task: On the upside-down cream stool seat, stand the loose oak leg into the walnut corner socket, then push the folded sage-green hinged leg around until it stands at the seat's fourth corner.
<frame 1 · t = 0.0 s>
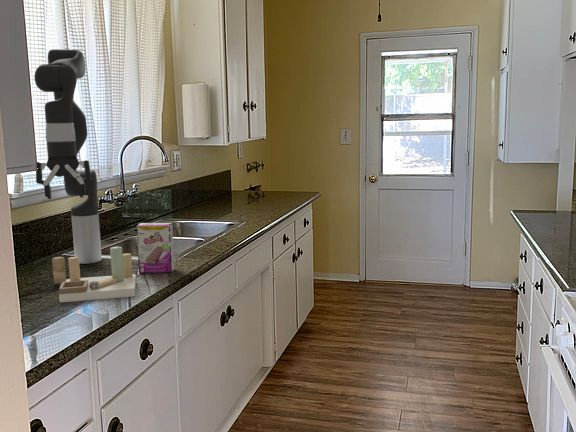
hand: (65, 198, 163), 29 cm above the worktop, fingers open, 8 cm apart
hinged leg: (106, 267, 172), point 8 cm above the worktop, hinge at 45.0°
candy bar box: (157, 272, 195), on the worktop
stool seat: (100, 291, 174), on the worktop
loose leg: (60, 282, 183), on the worktop
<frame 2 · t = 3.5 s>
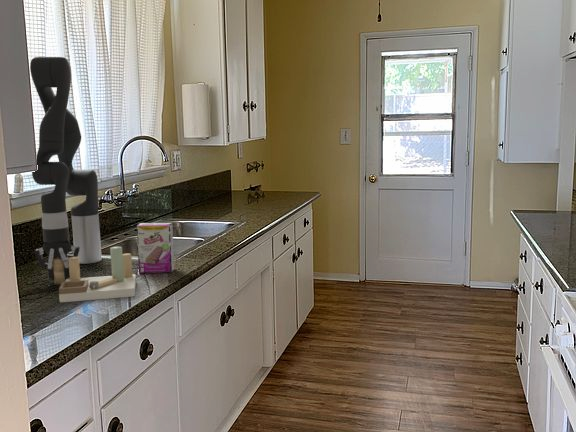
hand: (59, 279, 183), 1 cm above the worktop, fingers closed on loose leg, 3 cm apart
loose leg: (60, 282, 183), on the worktop, touching gripper
everything else where it was.
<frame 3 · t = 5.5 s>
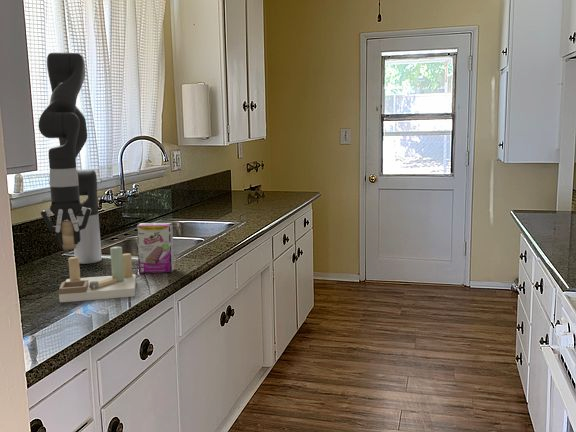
hand: (69, 244, 165), 16 cm above the worktop, fingers closed on loose leg, 3 cm apart
loose leg: (69, 248, 166), point 15 cm above the worktop, touching gripper
everything else where it was.
when the fingers open (4 cm above the worktop, at t = 8.0 s): loose leg stays where it is, resting on stool seat.
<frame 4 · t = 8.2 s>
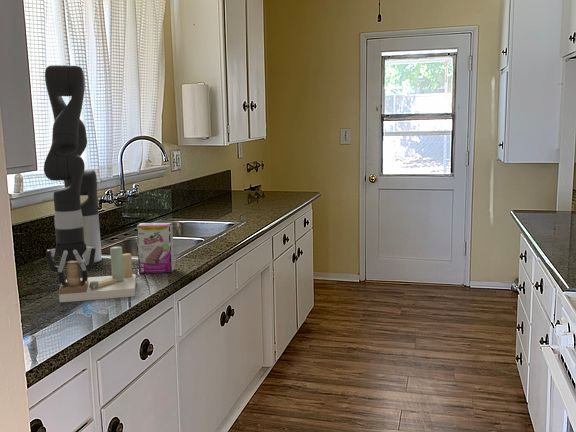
hand: (73, 283, 167), 4 cm above the worktop, fingers open, 5 cm apart
loose leg: (74, 289, 168), point 2 cm above the worktop, touching stool seat
everything else where it was.
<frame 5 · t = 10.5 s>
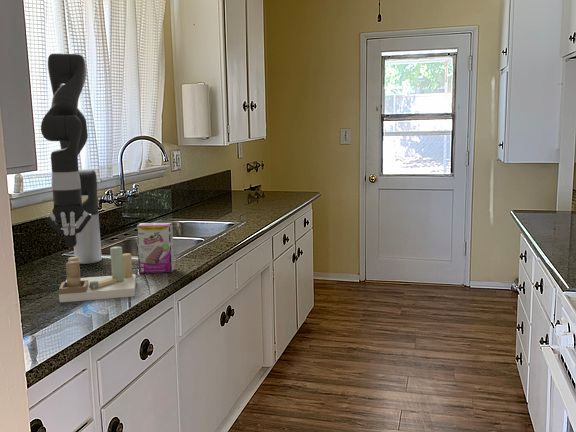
hand: (71, 247, 166), 15 cm above the worktop, fingers closed
nothing on the worktop moved.
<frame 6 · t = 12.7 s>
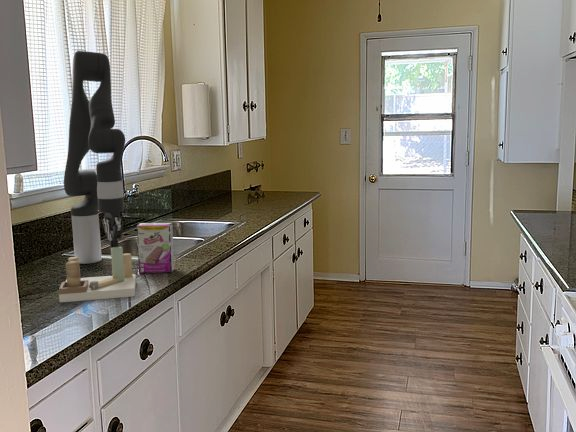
hand: (114, 251, 178), 11 cm above the worktop, fingers closed
hinged leg: (106, 267, 172), point 8 cm above the worktop, hinge at 43.5°, touching gripper
everything else where it was.
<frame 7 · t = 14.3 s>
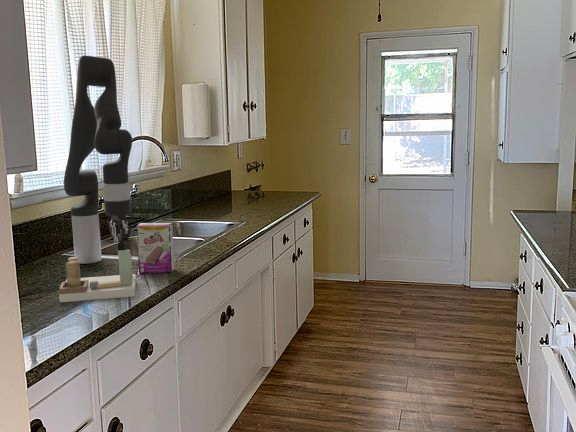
hand: (121, 255, 174), 11 cm above the worktop, fingers closed
hinged leg: (110, 269, 169), point 8 cm above the worktop, hinge at 8.7°, touching gripper
everything else where it was.
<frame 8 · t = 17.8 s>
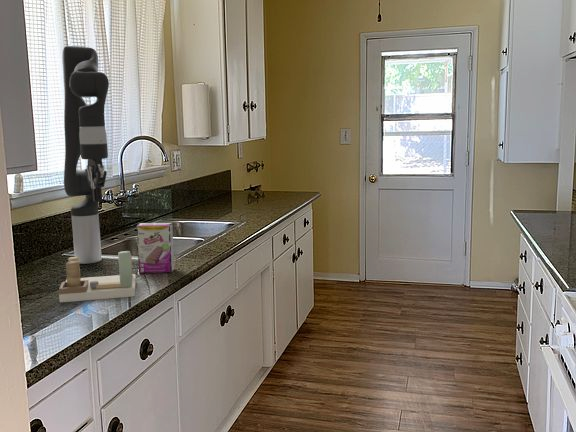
hand: (97, 201, 171), 27 cm above the worktop, fingers closed
hinged leg: (110, 269, 168), point 8 cm above the worktop, hinge at -3.5°
everything else where it was.
at the end: loose leg 0.0 cm from the target spot on the stool seat, point 2.4 cm above the stool seat's base; loose leg tilted 0°; hinged leg at -4° (first picture: +45°) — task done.
